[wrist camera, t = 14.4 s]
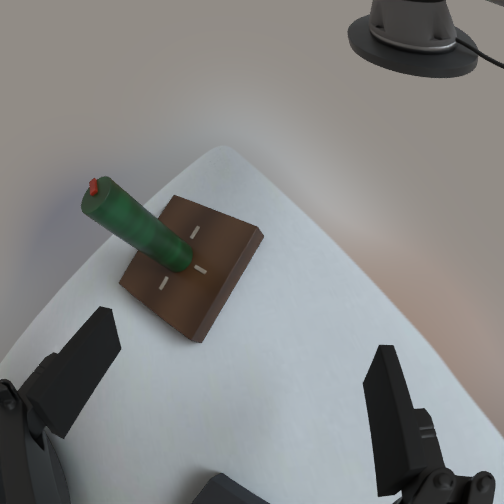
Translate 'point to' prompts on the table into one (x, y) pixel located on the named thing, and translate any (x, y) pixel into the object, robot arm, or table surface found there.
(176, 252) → the dial knob
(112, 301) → the table surface
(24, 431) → the robot arm
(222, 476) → the button box
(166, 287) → the dial base
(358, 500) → the table surface
